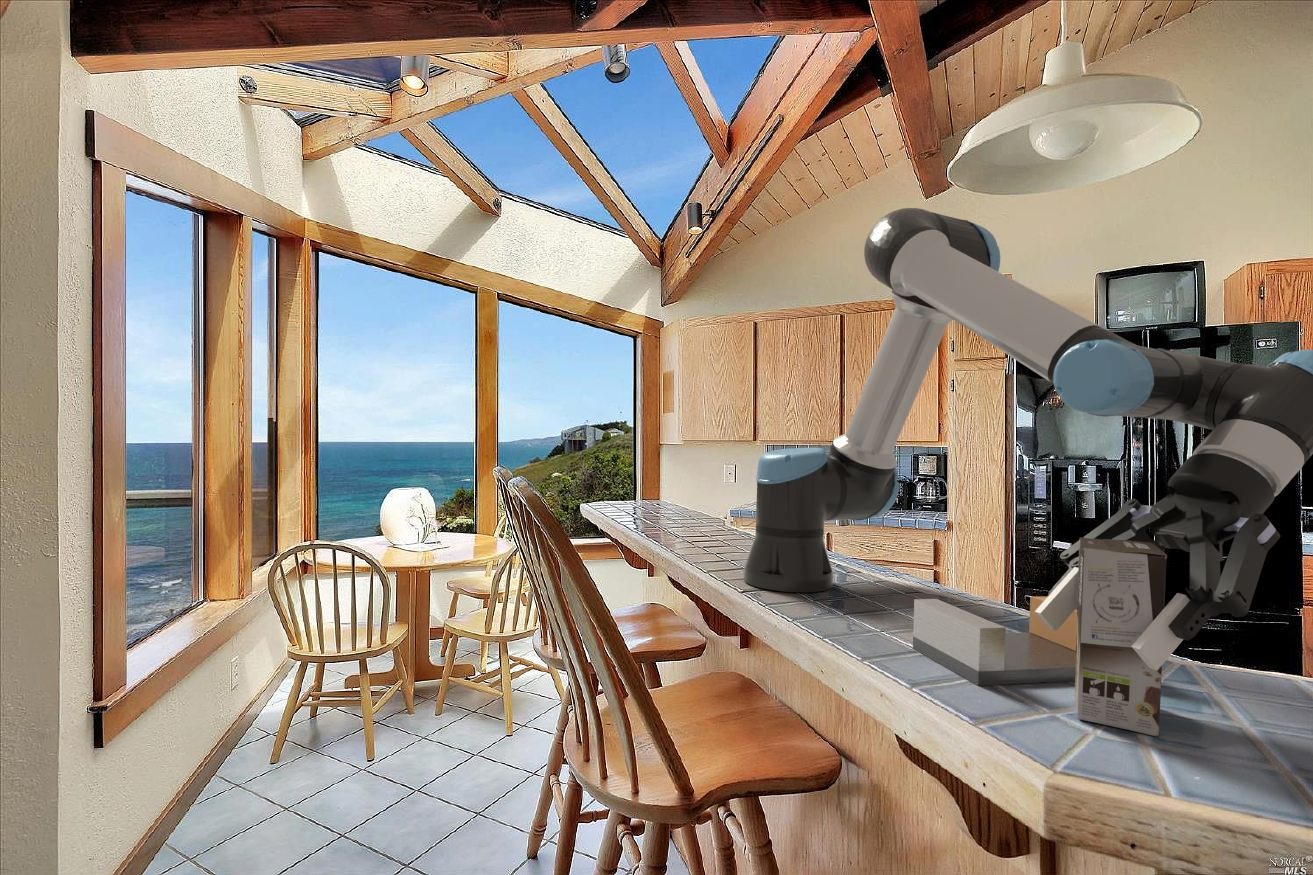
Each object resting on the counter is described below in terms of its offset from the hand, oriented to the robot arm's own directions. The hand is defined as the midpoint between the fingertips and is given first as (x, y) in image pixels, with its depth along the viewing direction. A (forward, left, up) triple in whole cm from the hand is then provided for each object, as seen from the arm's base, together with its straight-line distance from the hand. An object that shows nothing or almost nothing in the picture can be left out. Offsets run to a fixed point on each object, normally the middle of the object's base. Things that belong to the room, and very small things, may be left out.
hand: (1090, 638), depth 63 cm
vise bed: (-13, +4, -7) cm, 16 cm away
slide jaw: (-13, +12, -6) cm, 19 cm away
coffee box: (0, +3, -7) cm, 8 cm away
